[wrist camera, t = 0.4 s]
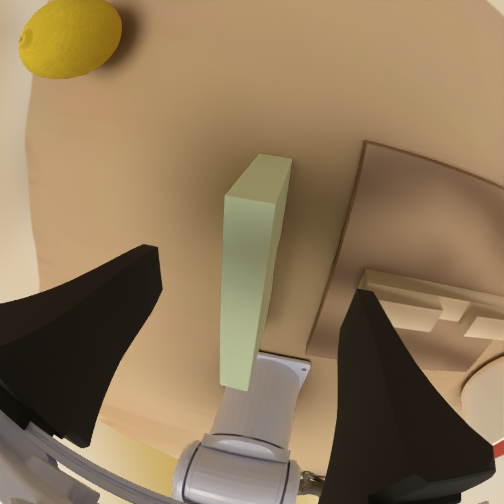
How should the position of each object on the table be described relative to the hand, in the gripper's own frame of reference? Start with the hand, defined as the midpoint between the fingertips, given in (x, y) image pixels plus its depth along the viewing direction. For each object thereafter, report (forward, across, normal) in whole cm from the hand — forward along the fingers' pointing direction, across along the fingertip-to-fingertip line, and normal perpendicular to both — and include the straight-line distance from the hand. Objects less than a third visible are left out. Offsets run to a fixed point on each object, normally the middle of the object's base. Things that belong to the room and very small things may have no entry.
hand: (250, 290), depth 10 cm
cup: (+10, -29, +16) cm, 35 cm away
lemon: (+10, +13, -10) cm, 19 cm away
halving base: (+10, -13, +5) cm, 17 cm away
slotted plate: (+10, +1, +5) cm, 11 cm away
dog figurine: (+10, -17, +61) cm, 64 cm away
